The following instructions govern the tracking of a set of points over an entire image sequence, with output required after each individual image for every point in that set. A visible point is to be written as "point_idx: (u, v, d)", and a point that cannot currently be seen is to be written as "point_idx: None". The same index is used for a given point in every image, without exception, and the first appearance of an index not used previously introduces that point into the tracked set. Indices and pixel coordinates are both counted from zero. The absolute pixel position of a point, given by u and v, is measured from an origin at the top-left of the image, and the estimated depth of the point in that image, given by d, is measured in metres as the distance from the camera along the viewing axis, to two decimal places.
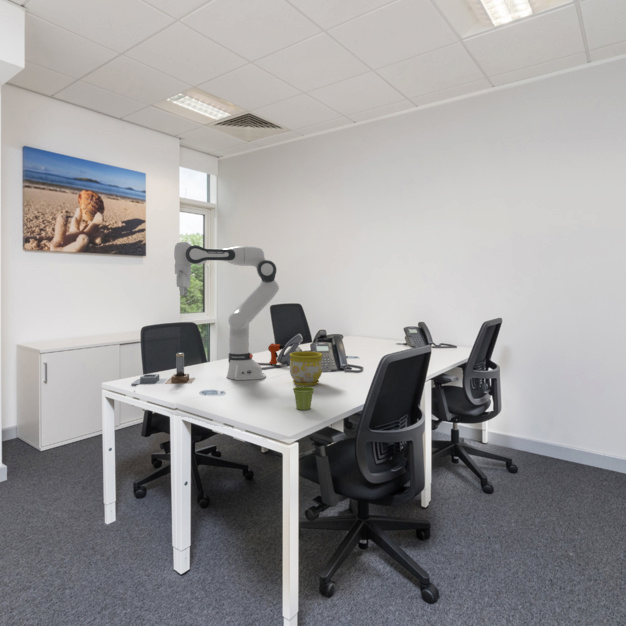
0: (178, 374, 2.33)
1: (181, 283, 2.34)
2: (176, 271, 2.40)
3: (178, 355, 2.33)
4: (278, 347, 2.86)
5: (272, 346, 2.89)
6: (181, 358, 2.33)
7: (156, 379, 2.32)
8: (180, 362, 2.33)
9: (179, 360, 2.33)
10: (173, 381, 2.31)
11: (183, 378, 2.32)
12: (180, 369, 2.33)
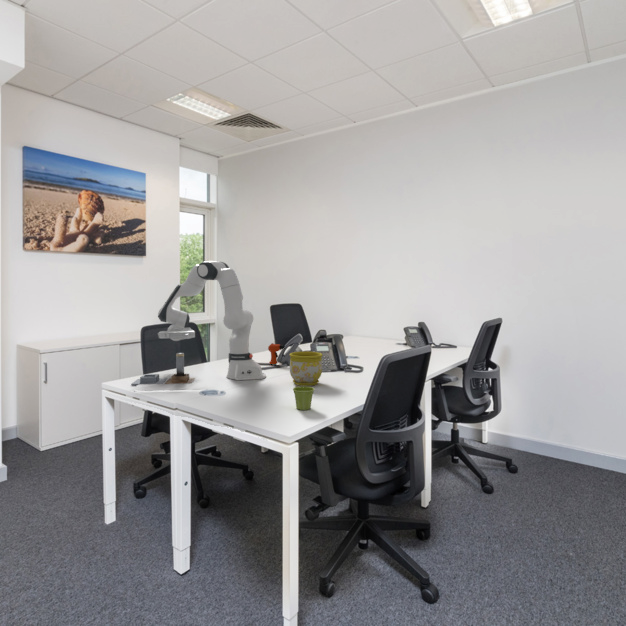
0: (178, 374, 2.33)
1: (158, 333, 2.47)
2: (170, 338, 2.56)
3: (178, 355, 2.33)
4: (278, 347, 2.86)
5: (272, 346, 2.89)
6: (181, 358, 2.33)
7: (156, 379, 2.32)
8: (180, 362, 2.33)
9: (179, 360, 2.33)
10: (173, 381, 2.31)
11: (183, 378, 2.32)
12: (180, 369, 2.33)
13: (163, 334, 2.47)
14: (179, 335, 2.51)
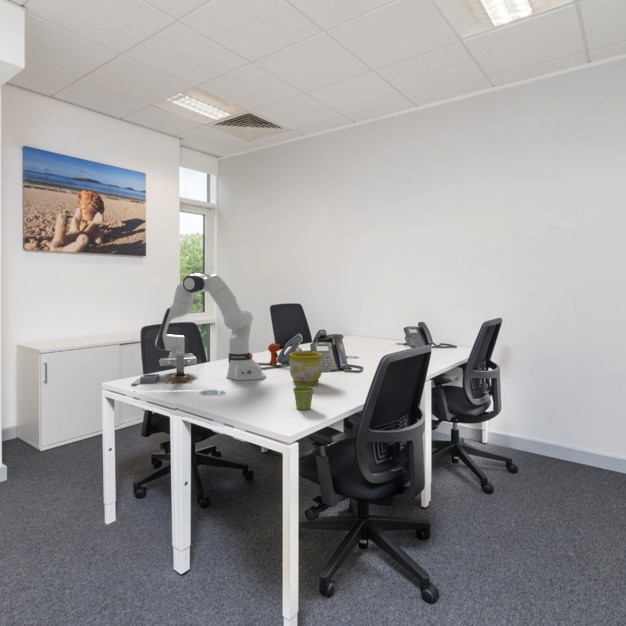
0: (178, 374, 2.33)
1: (159, 360, 2.43)
2: (171, 364, 2.52)
3: (178, 355, 2.33)
4: (278, 347, 2.86)
5: (272, 346, 2.89)
6: (181, 358, 2.33)
7: (156, 379, 2.32)
8: (180, 362, 2.33)
9: (179, 360, 2.33)
10: (173, 381, 2.31)
11: (183, 378, 2.32)
12: (180, 369, 2.33)
13: (164, 361, 2.42)
14: None
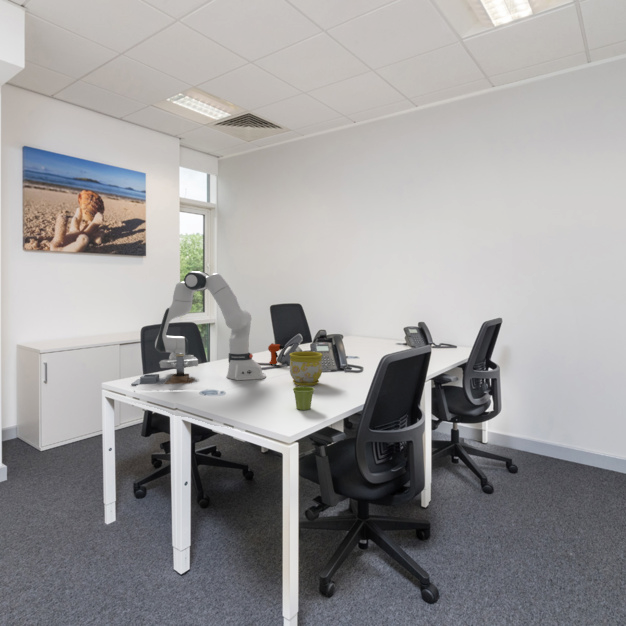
0: (178, 374, 2.33)
1: (160, 362, 2.36)
2: (172, 366, 2.45)
3: (178, 355, 2.33)
4: (278, 347, 2.86)
5: (272, 346, 2.89)
6: (181, 358, 2.33)
7: (156, 379, 2.32)
8: (180, 362, 2.33)
9: (179, 360, 2.33)
10: (173, 381, 2.31)
11: (183, 378, 2.32)
12: (180, 369, 2.33)
13: (165, 363, 2.35)
14: None
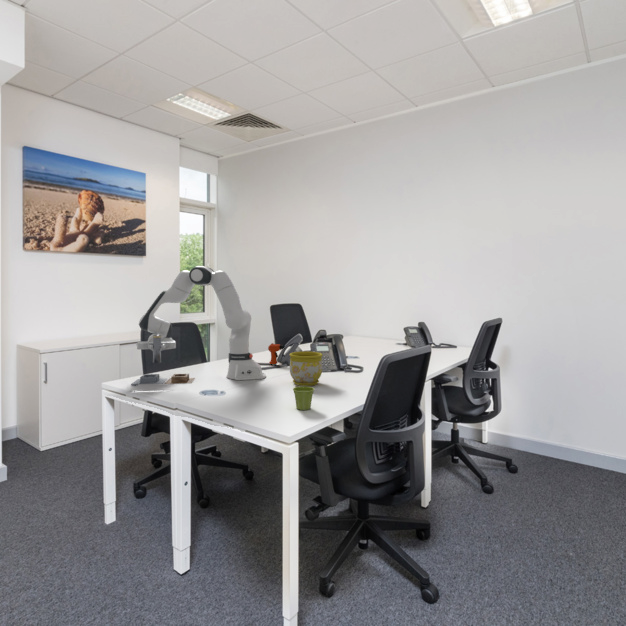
0: (155, 356, 2.31)
1: (137, 344, 2.34)
2: (150, 348, 2.44)
3: (154, 336, 2.31)
4: (278, 347, 2.86)
5: (272, 346, 2.89)
6: (158, 340, 2.31)
7: (156, 379, 2.32)
8: (157, 343, 2.31)
9: (156, 341, 2.31)
10: (173, 381, 2.31)
11: (183, 378, 2.32)
12: (157, 351, 2.31)
13: (141, 345, 2.34)
14: None
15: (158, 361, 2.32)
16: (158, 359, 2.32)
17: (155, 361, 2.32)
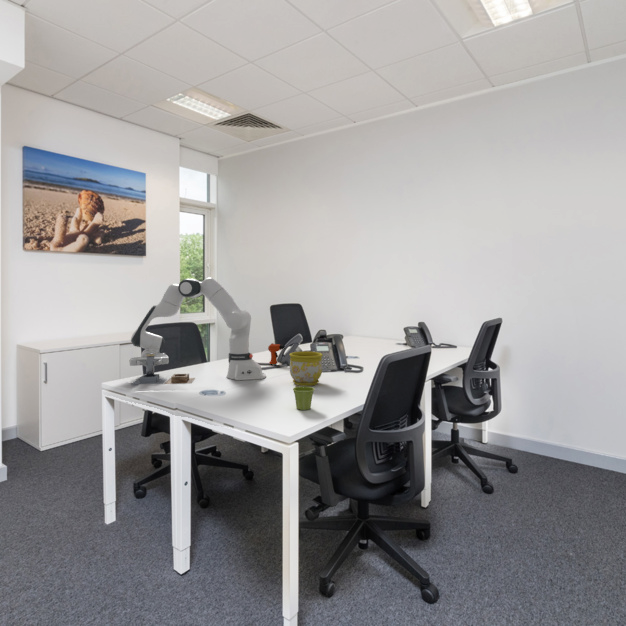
0: (148, 374, 2.31)
1: (129, 360, 2.34)
2: (143, 364, 2.43)
3: (148, 355, 2.31)
4: (278, 347, 2.86)
5: (272, 346, 2.89)
6: (151, 358, 2.32)
7: (156, 379, 2.32)
8: (150, 362, 2.31)
9: (149, 360, 2.31)
10: (173, 381, 2.31)
11: (183, 378, 2.32)
12: (150, 369, 2.31)
13: (134, 361, 2.33)
14: None
15: None
16: None
17: None
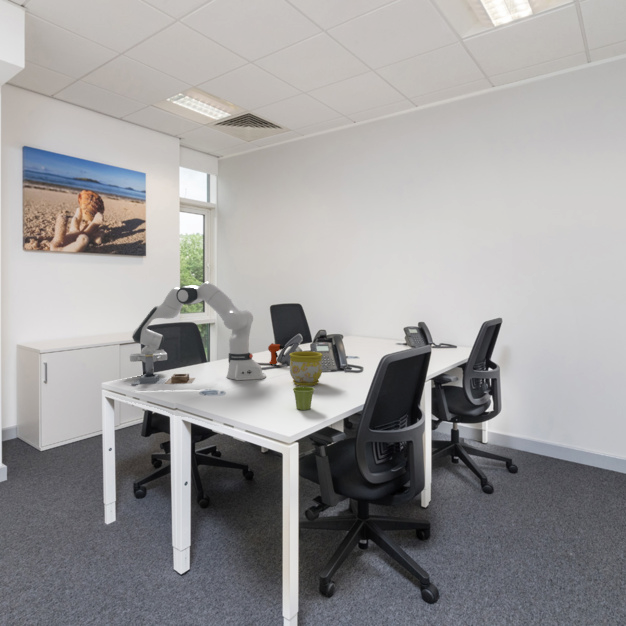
0: (147, 374, 2.31)
1: (130, 356, 2.46)
2: (142, 360, 2.55)
3: (146, 355, 2.30)
4: (278, 347, 2.86)
5: (272, 346, 2.89)
6: (150, 358, 2.31)
7: (156, 379, 2.32)
8: (149, 362, 2.31)
9: (148, 360, 2.30)
10: (173, 381, 2.31)
11: (183, 378, 2.32)
12: (149, 369, 2.31)
13: (134, 357, 2.45)
14: None
15: None
16: None
17: None
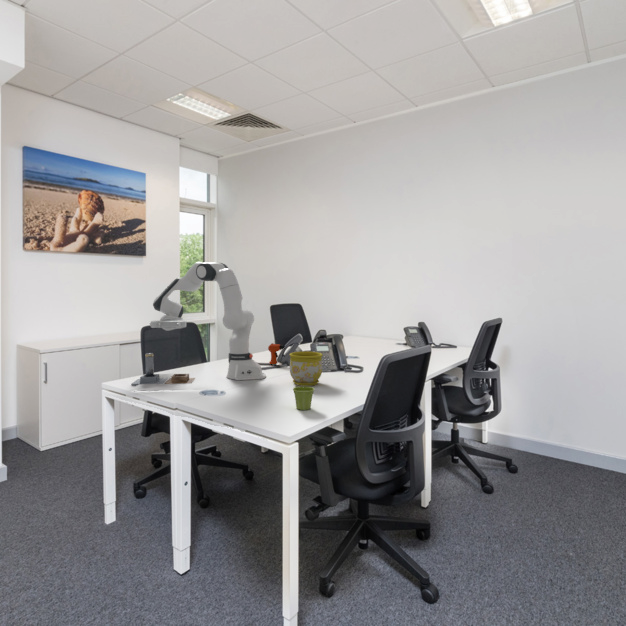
0: (147, 374, 2.31)
1: (150, 323, 2.51)
2: (162, 328, 2.60)
3: (147, 355, 2.31)
4: (278, 347, 2.86)
5: (272, 346, 2.89)
6: (150, 358, 2.31)
7: (156, 379, 2.32)
8: (149, 362, 2.31)
9: (148, 360, 2.31)
10: (173, 381, 2.31)
11: (183, 378, 2.32)
12: (149, 369, 2.31)
13: (155, 323, 2.50)
14: (171, 324, 2.54)
15: None
16: None
17: None
